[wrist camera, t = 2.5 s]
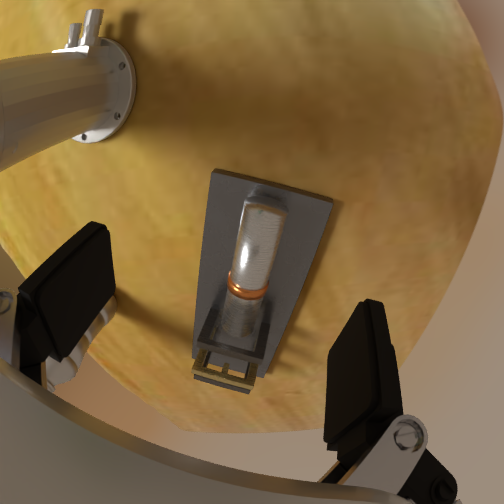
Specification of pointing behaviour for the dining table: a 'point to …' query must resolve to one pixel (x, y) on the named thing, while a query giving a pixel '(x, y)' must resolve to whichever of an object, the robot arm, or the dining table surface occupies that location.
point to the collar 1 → (230, 350)
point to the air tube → (252, 263)
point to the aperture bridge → (224, 371)
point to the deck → (284, 268)
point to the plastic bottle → (78, 349)
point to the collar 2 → (219, 381)
